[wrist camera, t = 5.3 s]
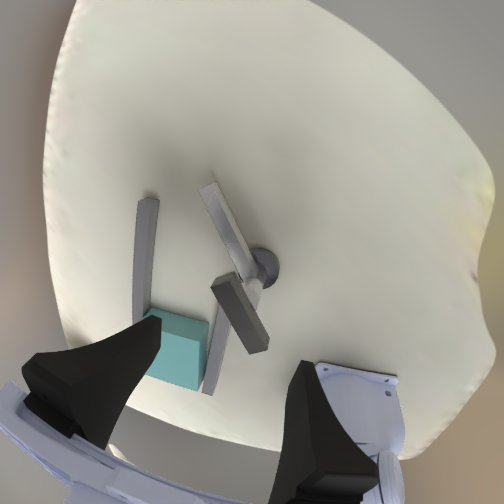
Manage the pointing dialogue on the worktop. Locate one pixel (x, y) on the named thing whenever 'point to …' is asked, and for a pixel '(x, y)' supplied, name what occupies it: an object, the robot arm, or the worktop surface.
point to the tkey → (228, 286)
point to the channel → (142, 288)
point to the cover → (180, 350)
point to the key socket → (266, 265)
